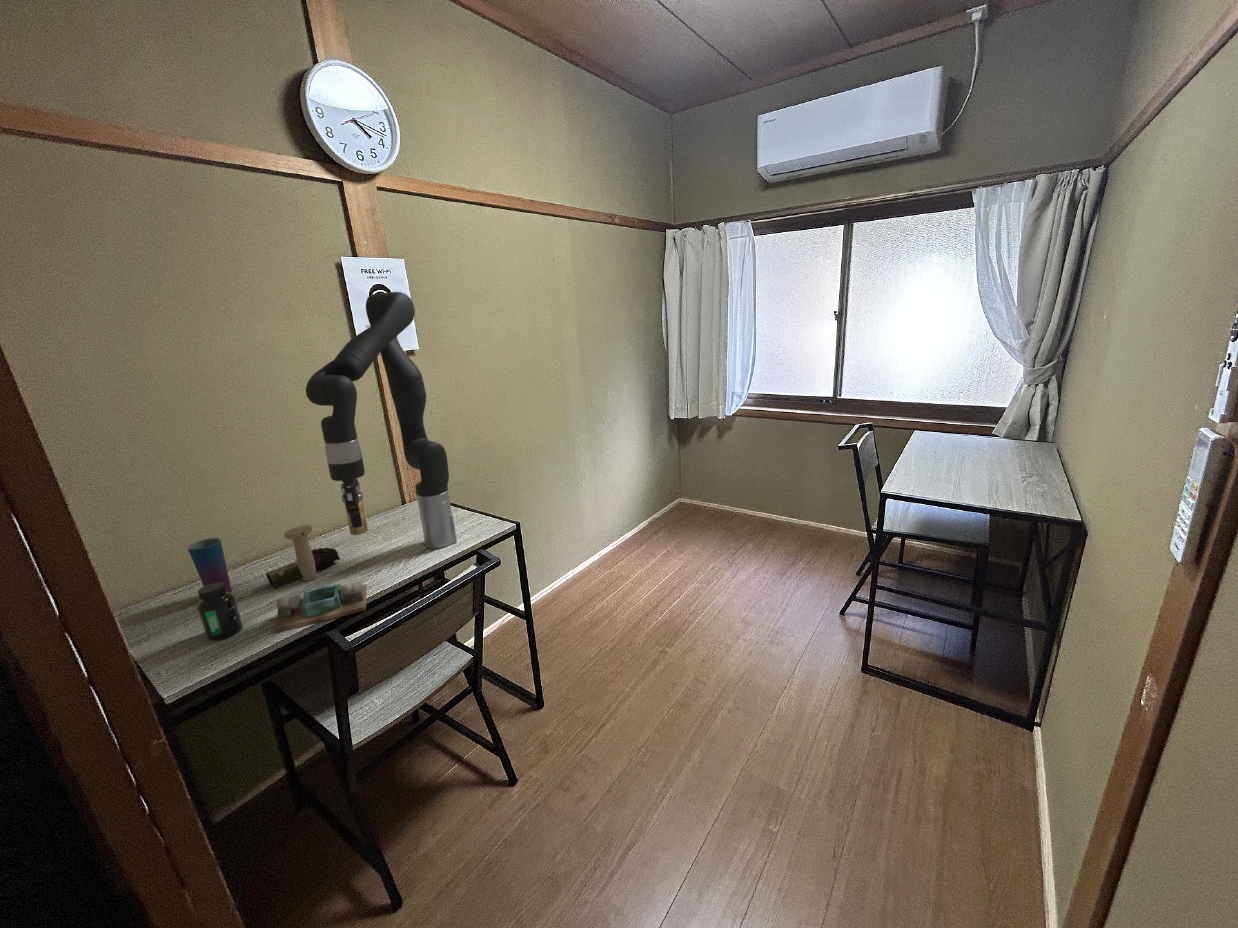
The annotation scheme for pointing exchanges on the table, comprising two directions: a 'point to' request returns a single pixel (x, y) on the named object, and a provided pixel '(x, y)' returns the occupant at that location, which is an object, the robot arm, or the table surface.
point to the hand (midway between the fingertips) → (357, 523)
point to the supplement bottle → (218, 612)
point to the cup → (210, 561)
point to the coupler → (364, 525)
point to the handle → (303, 551)
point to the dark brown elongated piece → (290, 572)
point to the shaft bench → (321, 605)
